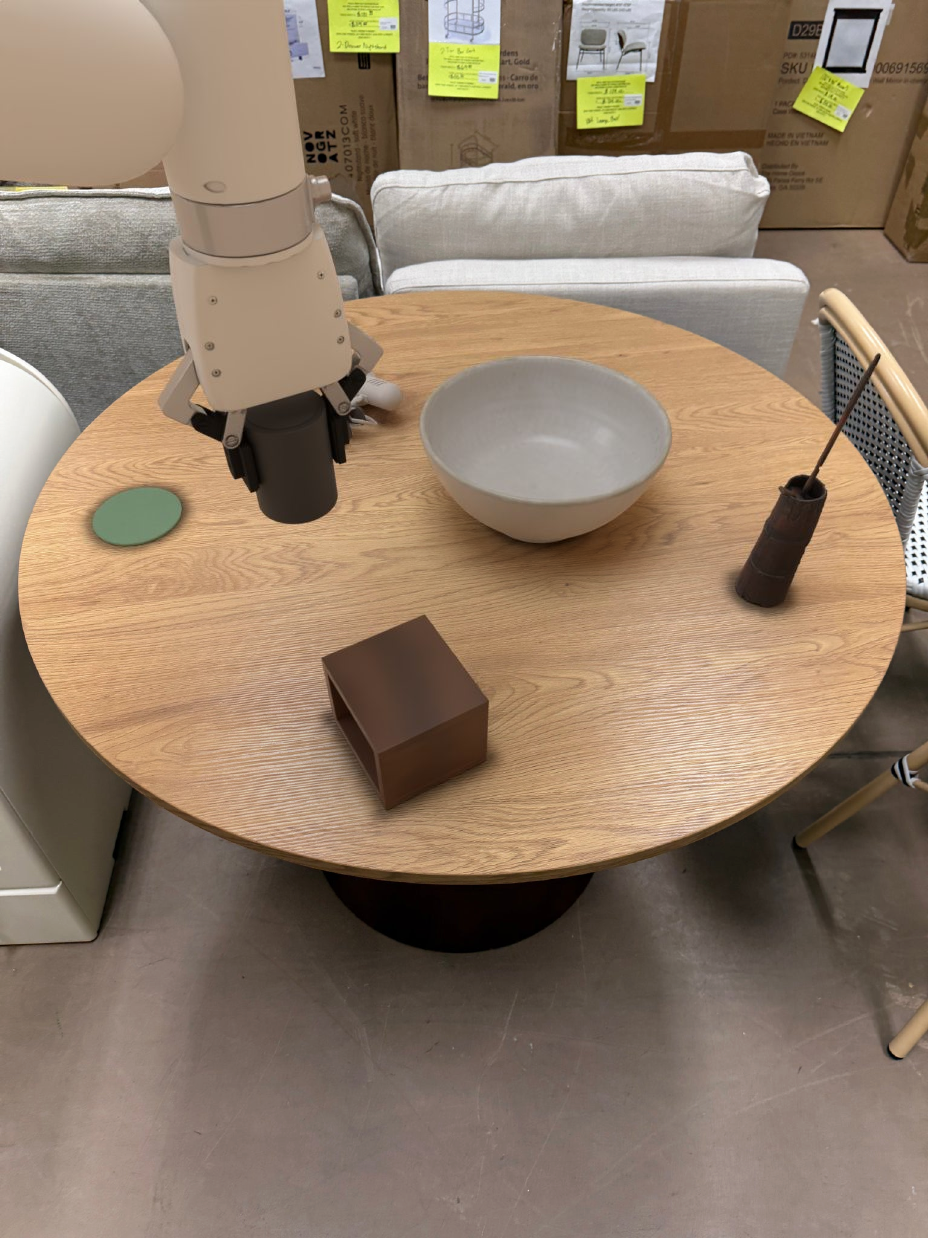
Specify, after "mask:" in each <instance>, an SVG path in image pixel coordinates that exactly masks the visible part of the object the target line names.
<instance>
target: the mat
mask: <svg viewBox="0 0 928 1238" xmlns="http://www.w3.org/2000/svg"><path fill="white" fill-rule="evenodd" d="M182 515H183V505H182V503H181V500H180V498H178V497H177V495H176V494H174V493H173V492H172V491H169V490H166V489H164V488H159V487H151V486H150V487H149V486H146V487H136V488H131V489H128V490H125V491H122V492H119V493H117V494H115V495H113V496H112V497H110V498H109V499H106V500H105V501H104V502H102V504H101V505H100V506H98V508H97V509H96V511H95V513H94V515H93V517H92V523H91V524H92V529H93V532H94V533H95V535H96V536H97V537H98V538H99V539H100V540H102V541H104V542H105V543H108V544H109V545H114V546H120V547H133V546H139V545H143V544H148V543H151V542H153V541H157V540H158V539H160V538H162V537H163V536H165V535H167V534H168V533H169V532H171V531H172V530H173V529H175V527H176V526H177V525H178V523H179V522H180V520H181V518H182Z"/></svg>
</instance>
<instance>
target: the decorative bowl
mask: <svg viewBox="0 0 928 1238" xmlns="http://www.w3.org/2000/svg"><path fill="white" fill-rule="evenodd" d="M418 423H419V435H420V440H421V444H422V447H423V451H424V453H425V456H426V458H427V460H428V462H429V464H430V466H431V469H432V471H433V473H434V474H435V476H436V478H437V479H438V481H439V482H440V484H441V485H442V487H443V488H444V489H445V491H446V492H447V494H448V495H449V496H450V497H451V498H452V499H453V500H454V502H455V503H456V504H458V506H459V507H461V508H462V510H463V511H465V512H466V513H467V514H468V515H470V516H471V517H472V518H474V519H475V520H477V521H478V522H480V523H481V524H483V525H485V526H487V527H489V528H491V529H493V530H495V531H497V532H500V533H502V534H504V535H506V536H508V537H510V538H512V539H515V540H518V541H522V542H526V543H532V544H533V543H535V544H547V543H555V542H559V541H563V540H566V539H569V538H574V537H577V536H582V535H584V534H587V533H589V532H592V531H594V530H597V529H599V528H601V527H602V526H605V525H606V524H608V523H610V522H611V521H613V520H615V519H617V517H619V516H620V515H622V514H623V513H624V512H626V511H627V510H628V509H629V508H630V507H631V506H632V505H634V504H635V503H636V502H637V501H638V500H639V499H640V498H641V497H642V495H643V494H644V493H645V492H646V491H647V489H648V488H649V487H650V486H651V485H652V483H653V482H654V480H655V479H656V477H657V476H658V474H659V473H660V471H661V470H662V469H663V467H664V464H665V463H666V461H667V458H668V456H669V454H670V452H671V448H672V444H673V443H672V442H673V429H672V423H671V421H670V417H669V415H668V413H667V411H666V409H665V408H664V406H663V404H662V403H661V402H660V400H658V398H657V397H656V396H655V395H654V394H653V393H652V392H651V391H650V390H648V389H647V387H645V386H643V385H642V384H641V383H639V382H638V381H637V380H635V379H633V378H631V377H630V376H628V375H626V374H624V373H622V372H620V371H618V370H615V369H613V368H610V367H608V366H605V365H602V364H599V363H596V362H592V361H588V360H584V359H579V358H574V357H568V356H562V355H561V356H559V355H544V354H531V355H527V354H526V355H515V356H507V357H501V358H495V359H492V360H488V361H484V362H481V363H478V364H474V365H472V366H470V367H467V368H465V369H463V370H460V371H459V372H457V373H455V374H453V375H452V376H450V377H449V378H447V379H446V380H445V381H443V382H442V383H440V384H439V386H437V387H436V388H435V389H434V390H433V391H432V392H431V393H430V395H429V396H428V398H427V399H426V401H425V403H424V405H423V407H422V409H421V412H420V417H419V422H418Z"/></svg>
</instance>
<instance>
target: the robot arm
mask: <svg viewBox="0 0 928 1238" xmlns="http://www.w3.org/2000/svg"><path fill="white" fill-rule="evenodd" d="M293 74H294V73H293V67H292V59H291V51H290V42H289V35H288V28H287V19H286V12H285V4H284V0H0V181H8V182H19V183H30V184H40V185H41V184H42V185H52V186H66V187H85V188H87V187H105V186H111V185H116V184H122V183H127V182H129V181H131V180H134V179H137V178H139V177H141V176H144V175H145V174H146V173H148V172H149V171H151V170H152V169H154V168H155V167H157V166H158V165H159V164H160V163H161V162H162V166H163V169H164V172H165V178H166V181H167V185H168V189H169V193H170V197H171V201H172V205H173V209H174V214H175V217H176V221H177V225H178V229H179V234H180V235H177V236H175V237H173V238H172V239H171V240H170V241H169V243H168V259H169V260H168V261H169V272H170V281H171V289H172V297H173V302H174V308H175V314H176V319H177V324H178V328H179V333H180V339H181V342H182V347H183V351H184V355H183V358H182V359H181V360H180V362H179V364H178V366H177V367H176V369H175V370H174V372H173V374H172V375H171V377H170V378H169V380H168V382H167V383H166V385H165V386H164V388H163V390H162V391H161V393H160V394H159V396H158V398H157V404H158V406H159V408H160V410H161V413H162V414H163V415H164V416H165V417H166V418H169V419H171V420H174V421H176V422H178V423H180V424H182V425H184V426H189V427H191V428H193V429H194V430H195V431H196V432H197V433H200V434H202V435H204V436H206V437H208V438H211V439H212V440H215V441H216V442H219V443H221V444H222V448H223V453H224V456H225V460H226V464H227V467H228V470H229V472H230V475H231V476H232V478H233V480H234V481H236V480H239V479H240V480H242V481H243V483H244V484H245V486H246V488H247V490H248V491H249V493H250V494H253V493H256V491H258V489H259V488H260V486H259V481H258V477H257V473H256V468H255V464H254V459H253V455H252V451H251V447H250V445H249V443H248V442H247V440H246V439H245V437H244V436H243V434H242V433H243V428H244V423H245V418H246V413H247V408H250V407H253V406H257V405H260V404H264V403H268V402H271V401H275V400H278V399H282V398H285V397H289V396H292V395H296V394H299V393H303V392H306V391H309V390H316V389H318V390H319V392H320V393H321V394H320V396H321V397H322V398H323V400H324V402H325V407H326V414H327V421H328V428H329V435H330V443H331V450H332V457H333V462H334V463H335V464H337V465H338V464H339V465H342V464H346V463H347V453H346V446H347V445H350V438H349V433H348V424H347V416H346V414H348V413H349V412H350V411H351V409H352V404H351V401H352V400H353V399H354V397H355V396H356V394H357V393H358V392H359V390H360V389H361V387H362V386H363V385H364V383H365V381H366V375H367V374H368V373H370V372H371V371H372V372H373V370H374V368H375V367H376V366H377V364H378V362H379V361H380V360H381V358H382V357H383V355H384V348H383V347H382V346H381V345H380V344H379V343H378V342H377V340H375V339H374V338H373V337H372V336H370V335H369V334H368V333H366V332H364V331H363V330H362V329H360V328H359V327H357V326H356V325H354V324H353V323H351V322H350V321H349V320H348V317H347V313H346V309H345V304H344V299H343V295H342V290H341V287H340V282H339V278H338V274H337V271H336V267H335V264H334V260H333V256H332V253H331V250H330V247H329V244H328V240H327V237H326V234H325V231H324V229H323V227H322V226H321V224H320V223H319V222H318V220H317V219H316V215H315V212H316V206H320V205H321V203H322V202H323V203H324V202H328V201H331V200H332V197H333V196H332V195H333V194H332V187H331V186H332V185H331V183H330V180H329V178H328V176H327V175H325V174H323V175H318V176H315V175H314V174H308V173H307V172H306V168H305V162H304V161H305V159H304V151H303V145H302V144H303V143H302V138H301V128H300V120H299V113H298V107H297V106H298V105H297V98H296V97H297V96H296V90H295V82H294V75H293ZM352 350H353V353H352ZM199 386H201V387H200V388H201V390H202V392H203V394H204V395H205V398H206V400H207V402H208V403H207V404H208V405H209V406H210V408H212V409H209V408H207V407H205V406H203V405H201V404H199V403H194V402H192V401H191V399H192V397H193V395H194V394H195V392H196V391H197V389H198V388H199Z"/></svg>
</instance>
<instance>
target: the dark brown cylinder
mask: <svg viewBox="0 0 928 1238" xmlns="http://www.w3.org/2000/svg"><path fill="white" fill-rule="evenodd" d="M242 434H243V436H244V437H245V439H246V440H247V442H248V443H249V445H250V447H251V451H252V455H253V459H254V464H255V468H256V473H257V477H258V481H259V486H260V488H259V489H258V491H256V492H255V494H256V495H255V496H256V499H257V504H258V508H259V509H260V511H261V513H262V514H263V515H264V516H265V517H266V518H268V519H269V520H271V521H273V522H276V523H279V524H284V525H302V524H307V523H311V522H314V521H317V520H320V519H322V518H323V517H325V516H326V515H328V514H329V513H330V512H331V511H332V510H333V509H334V507H335V506H336V504H337V502H338V498H339V493H338V486H337V485H338V484H337V477H336V471H335V464H334V460H333V457H332V450H331V443H330V435H329V428H328V421H327V414H326V407H325V402H324V400H323V398H322V397H321V394H319V393H318V392H317V391H316V390H315V389H313V390H309V391H306V392H303V393H299V394H296V395H292V396H289V397H285V398H282V399H278V400H275V401H271V402H268V403H264V404H260V405H257V406H253V407H250V408H247V413H246V418H245V423H244V428H243V433H242Z"/></svg>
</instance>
